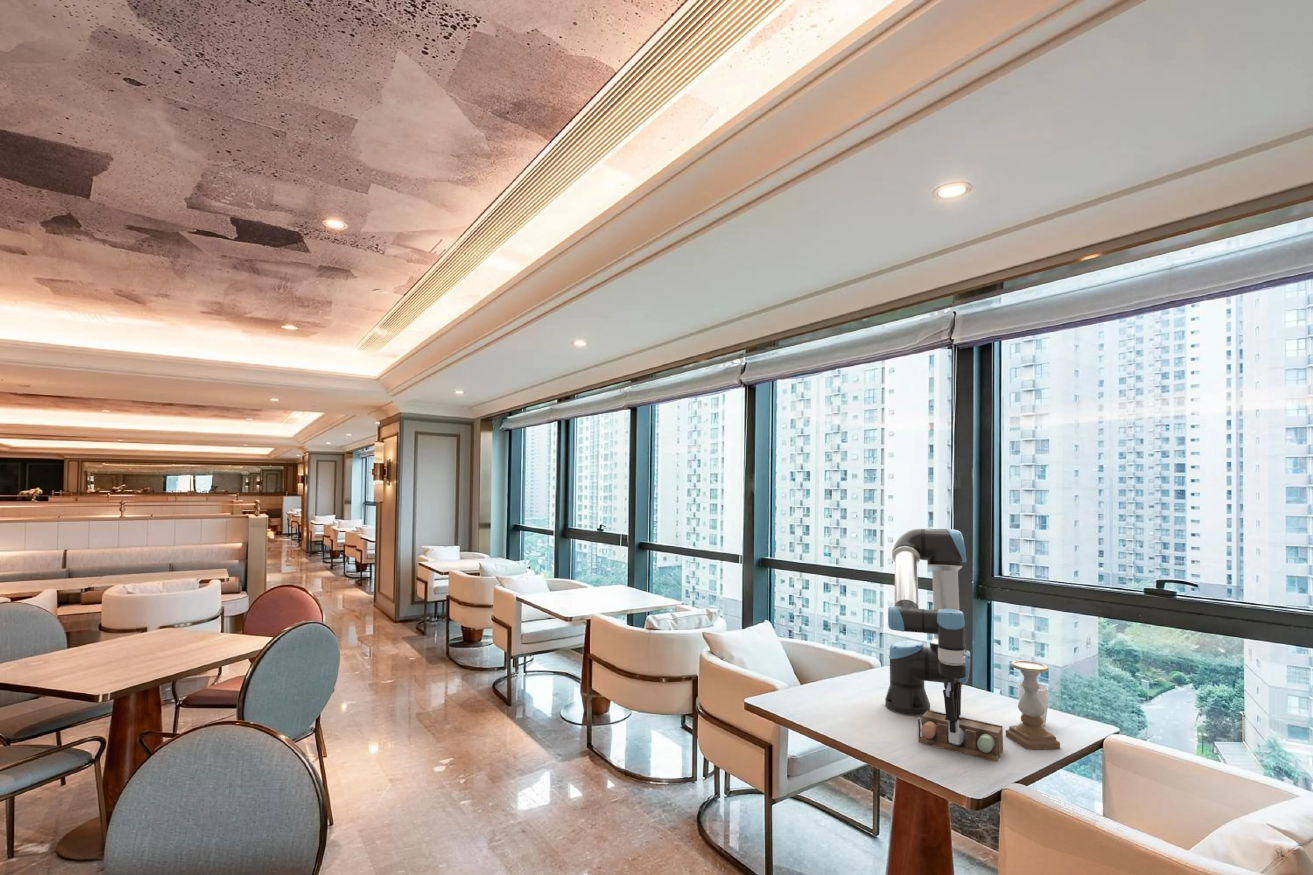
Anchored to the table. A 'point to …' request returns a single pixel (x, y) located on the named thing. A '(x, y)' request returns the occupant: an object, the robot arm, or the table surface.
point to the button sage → (985, 743)
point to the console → (972, 734)
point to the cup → (1043, 697)
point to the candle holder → (1031, 711)
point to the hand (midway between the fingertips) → (954, 742)
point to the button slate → (960, 736)
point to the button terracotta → (929, 730)
